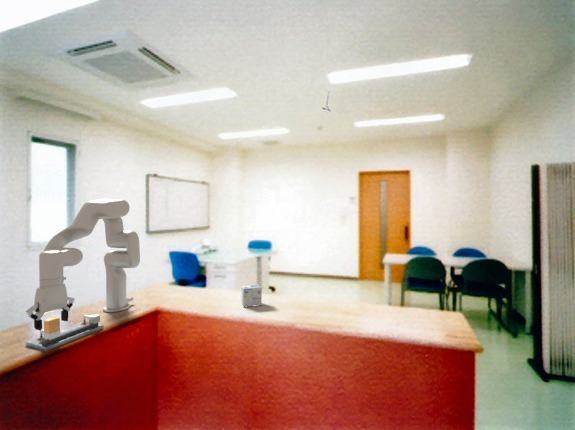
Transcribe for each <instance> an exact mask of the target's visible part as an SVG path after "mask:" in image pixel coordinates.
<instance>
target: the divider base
mask: <svg viewBox="0 0 575 430" xmlns="http://www.w3.org/2000/svg"><path fill="white" fill-rule="evenodd" d="M82 318H83V319H82V320H83V321H82V322H79V323H76V324H73V325H71V326H68V327H65V328H62V329H60V336H59V337H56V338H54V339H51V340H47V339H44V335H43V337H42V338H40V336H39V337H37V338H34V339H31V340H28V341H26V342H25V346H26V347H29V348H33V349H37V350H40V351H43V352H48V351H50V350H52V349H55V348H58V347H60V346H62V345H65V344H69V343H70V342H73V341H75V340H77V339H82V338H84V337H86V336H87V335H91V334H92V333H96V332H98V331H100V330H103V329H104V325H103V324H99V323H101V314H91V315H90V314H84V315H83V316H82ZM86 319H88V321H86Z"/></svg>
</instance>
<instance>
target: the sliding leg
mask: <svg viewBox="0 0 575 430" xmlns="http://www.w3.org/2000/svg"><path fill="white" fill-rule="evenodd" d="M60 321H61V318H60V317H55V316H54V317H50V318H47V319H44V320H43V328H42V330H39V337H40V338H42V337H43V336H44V339H47V340H51V339H54V338H56V337H59V336H60V330H61V329H60V328H61V326H60V325H61V322H60Z"/></svg>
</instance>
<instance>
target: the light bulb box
mask: <svg viewBox="0 0 575 430" xmlns="http://www.w3.org/2000/svg"><path fill="white" fill-rule="evenodd" d="M262 291H263V290H262V286H261V285H260V284H249V285H241V306H242V305H243V306H253V305H261V306H262V299H263V298H262V296H263V295H262V293H263V292H262ZM243 306H242V307H243ZM253 307H254V306H253Z"/></svg>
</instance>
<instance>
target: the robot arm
mask: <svg viewBox="0 0 575 430" xmlns="http://www.w3.org/2000/svg"><path fill="white" fill-rule="evenodd" d="M129 212H130V204H129V202H128V201H127V200H125V199H114V198H113V199H112V198H100V199H95V200H89V201H86V202H84V203H83V204H82V206H81V208H80V209H79V211H78V213H77V214H76V216H75V218H74V219H73V221H72V223H71V224H70V225H69V226H68V227H66V228H64V229H63V230H61V231H59V232H58V233H56V234H55V235H54V236H53V237H51V239H50V240H49V241H48V242H47V243H46V246H45V248H44V249H43V251H42V252H40V253H39V255H38V257H39V258H38V265H39V266H38V269H39V272H38V273H39V275H38V276H39V277H38V278H39V280H38V281H39V283H38V284H39V286H37V287H36V291H35V295H34V302H33V303H34V304H33V305H32V306H31V307H29V308H28V309H26V310H25V314H27V316H28V317H29V318H30V319H32V320H33V325H34V330H36V331H40V330H42V329H43V320H42V319H41V318H42V317H44V315H45V314H49V313H52V312H54V311H58V310H61V311H60V314H61V315H60V316H61V318H60V321H62V322H63V321H64V322H68V321H69V311H70V310H71V308H72V307H73V303H74V302H75V300H76V299H75V298H74V297H71V296H68V291H67V287H66V283H64V281H65V280H66V279H67V276H64V268H65V267H73V266H77V265H78V264H80V263H81V262H82V260H83V258H84V255H83V252H82V251H81V250H80V249H79V248H76V247H66V246H67V245H68V244H71V242H75V241H78V240H80V239H83V238H85V237H88V236H90V235H91V234H92V232H94V229H95V227H96V225H97V224H98V223H99V221H100V220H102V222H103V223H104V233H105V243H106V245H107V247H108V248H110V249H112V250H110V251H107V252H106V253H105V254H104V256H103V262H104V263H103V264H104V268H105V274H106V275H105V278H106V279H105V281H106V282H105V285H106V287H105V291H106V292H105V301H106V302H105V303H106V304H105V306H104V307H102V311H103V312H105V313H116V312H121V311H125V310H127V309H129V308H130V304H129V303H130V302H132V301H134V297H133V296H132V297H129V298H128V297H127V274H126V271H125V270H124V269H135V268H137V267H138V266H139V265H140V261H141V249H140V238H139V237H140V236H139V235H138V233H137V231H135V230H125V229H124V228H125V227H124V221H123V219H122V217H125V216H127V215H128V214H129Z"/></svg>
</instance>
